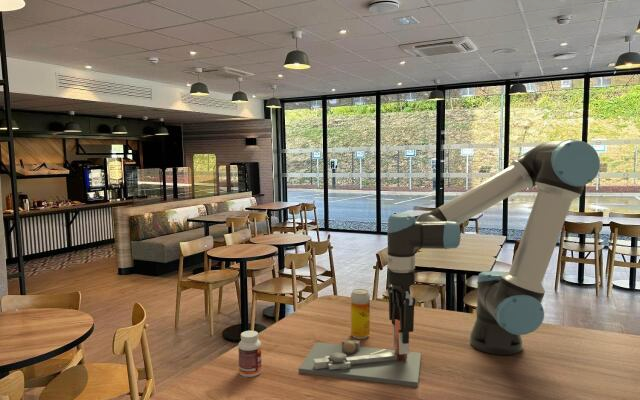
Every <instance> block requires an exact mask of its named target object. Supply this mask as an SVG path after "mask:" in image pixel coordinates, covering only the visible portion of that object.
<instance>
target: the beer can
mask: <svg viewBox="0 0 640 400" xmlns="http://www.w3.org/2000/svg"><path fill="white" fill-rule="evenodd" d="M370 295H371V294H370V293H369V290H367V289H364V288H363V289H362V288H357V289H356V288H355V289H353V290H352V291H351V294H350V334H351V336H352V338H354V339H357V340H364V339H367V338H368V337H369V335H370V330H371V329H370V327H371V326H370V325H371V323H370V321H371V319H370V317H371V315H370V314H371V312H370V311H371V310H370V309H371V308H370V306H371V305H370V303H371V301H370V298H371V296H370Z"/></svg>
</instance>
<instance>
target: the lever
mask: <svg viewBox="0 0 640 400" xmlns="http://www.w3.org/2000/svg"><path fill="white" fill-rule="evenodd" d="M398 330H401V328H400V317H398V318H395V348H394V350H395V353H385V354H375V355H365V356H354V357H346V354H345V362H340V363H330V362H331V360H330V356H325V358H319V359H314V367H315V369H322V368H329V370H330V369H340V368H350V367H351V364H359V363H369V362H379V361H389V360H401V361H403V360H406V359H407V354H401V355H400V354H399V332H398Z"/></svg>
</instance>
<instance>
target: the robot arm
mask: <svg viewBox="0 0 640 400" xmlns="http://www.w3.org/2000/svg"><path fill="white" fill-rule="evenodd" d="M600 168H601V161H600V155H599V154H598V152H597V150H596V149H595V148H594V147H593V146H592V145H591V144H589V143H588V142H585V141H582V140H579V139H578V140H575V139H564V140H547V141H545V142H542V143H540V144H538V145H536V146H535V147H533V148H532V149H530V150H528V151H526V152H525V153H523V154H522V155H520V156H519V157H517V158H515V159H514V160H512V162H511V164H510V166H508V167H506V168H505V169H502V170H501V171H499V172H498V173H495V174H494V175H492V176H491V177H489V178H487V179H485V180H484V181H482V182H480V183H479V184H477V185H475V186H472V188H470V189H468V190H466V191H465V192H463V193H462V194H459V195H457V196H456V197H454V198H452V199H450V200H449V201H447V202H445V203H444V204H442V205H440V206H439V207H437V208H434V209H433V210H431V211H429V212H424V213H421V214H420V215H418V216H417V217H416V216H415V214H410V213H394V214H391V215H390V216H388V219H387V231H386V232H387V258H386V262H387V268H388V269H387V284H389V285H388V286H387V292H388V318H389V321H391V324H392V348H393V349H395V318H398V317H400V328H401V330H398V332H399V354H400V355H401V354H409V352H410V333H414V325H415V324H414V321H415V320H414V319H415V304H416V298H415V297H412V296H411V288H410V287H411V286H413V285H414V284H415V280H416V279H415V277H416V271H415V269H416V249H418V250H421V249H422V250H423V249H426V250H427V249H432V250H433V249H434V250H435V249H439V250H443V249H444V250H448V249H457V248H458V247H459V245H460V243H461V227H460V225H461V224H463V223H465V222H466V221H468V220H469V219H470V220H471V219H472V218H473V217H475V216H476V215H479V214H480V213H482V212H483V211H485V210H487V209H490V208H492V206H495V205H496V204H498V203H500V202H501V201H503V200H506V199H507V198H509V197H510V196H512V195H515V194H516V193H518V192H520V191H521V190H523V189H525V188H527V189H532V188H533V187H535V186H536V188H537V194H536V197H535V200H534V202H533V205H532V207H531V211H530V213H529V216H528V219H527V222H526V225H525V227H524V230H523V232H522V236H521V239H520V241H519V244H518V246H517V247H518V248H517V250H516V252H515V255H514V257H513V260H512V264H511V267H510V269H509V271H501V270H500V271H499V270H498V271H497V270H496V271H495V270H490V271H489V270H488V271H482V272H480V273H479V274H478V275H477V281H476V284H477V288H476V289H477V290H476V291H477V292H476V293H477V294H476V295H477V296H476V297H477V298H476V318H475V322H474V323H473V326H472V328H471V331H470V334H469V343H470V345H471V346H472V347H473V348H474V349H476V350H479V351H480V352H483V353H487V354H491V355H498V356H510V355H511V356H512V355H515V354H518V353H521V351H522V350H523V340H522V337H521V336H523V335H524V336H525V335H528V334H531V333H533V332H535V331H537V330H538V329H539V328H540V326H542V324H543V321H544V319H545V310H544V307H543V305H542V302H543V298H544V296H545V293H546V290H545V288H544V286H543V280H544V278H545V275H546V272H547V270H548V267H549V264H550V261H551V259H552V256H553V253H554V251H555V248H556V245H557V243H558V240H559V237H560V235H561V232H562V229H563V227H564V224H565V221H566V220H567V219H566V218H567V216H568V213H569V210H570V207H571V205H572V202H573V200H575V199H578V198H579V197H581V196H582V194H583V191H584V188H585V185H587V184H589V183H592V182H593V181H594V180H595V179H596V177H597V176H598V174H599V172H600Z"/></svg>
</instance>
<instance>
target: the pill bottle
mask: <svg viewBox="0 0 640 400" xmlns="http://www.w3.org/2000/svg"><path fill="white" fill-rule="evenodd" d="M240 339H241V340H240V341H239V342H238V345H237V346H238V372H239V375H240V376H242V377H246V378H249V377H250V378H251V377H256V376H258V375H260V374H261V373H262V369H263V368H262V343H261V341H260V340H259V332H258V331H256V330H245V331H243V332H241V333H240Z"/></svg>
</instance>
